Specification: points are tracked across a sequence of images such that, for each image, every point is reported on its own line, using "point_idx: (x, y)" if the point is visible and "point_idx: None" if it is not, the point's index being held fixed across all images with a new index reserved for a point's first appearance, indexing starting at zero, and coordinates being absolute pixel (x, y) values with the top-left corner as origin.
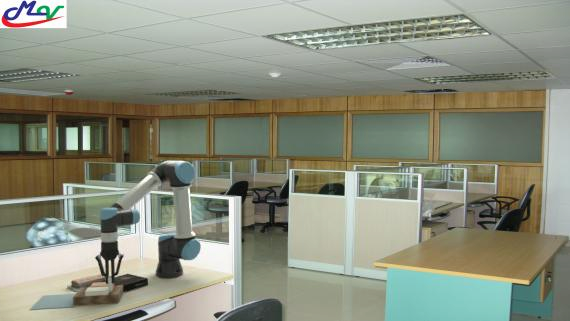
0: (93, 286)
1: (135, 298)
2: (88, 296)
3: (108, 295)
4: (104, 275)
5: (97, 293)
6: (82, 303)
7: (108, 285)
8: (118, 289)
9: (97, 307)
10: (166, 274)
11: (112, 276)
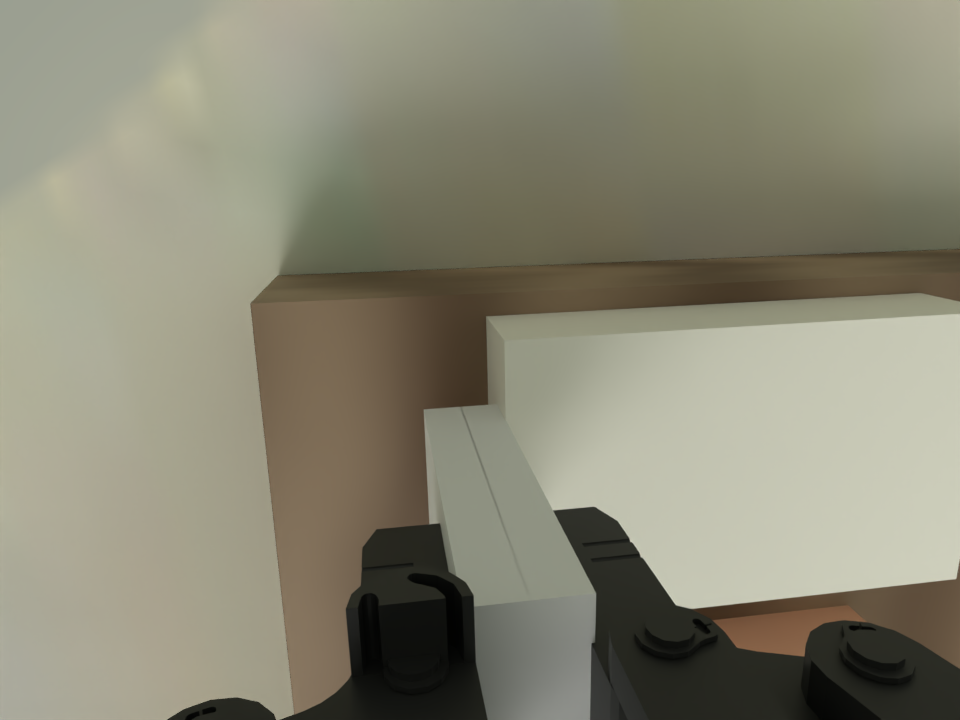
0: None
1: (18, 485)
2: (859, 275)
3: (468, 291)
4: (782, 682)
5: (714, 311)
6: (874, 257)
7: (519, 459)
8: (337, 644)
9: (606, 86)
10: None
11: (405, 595)
